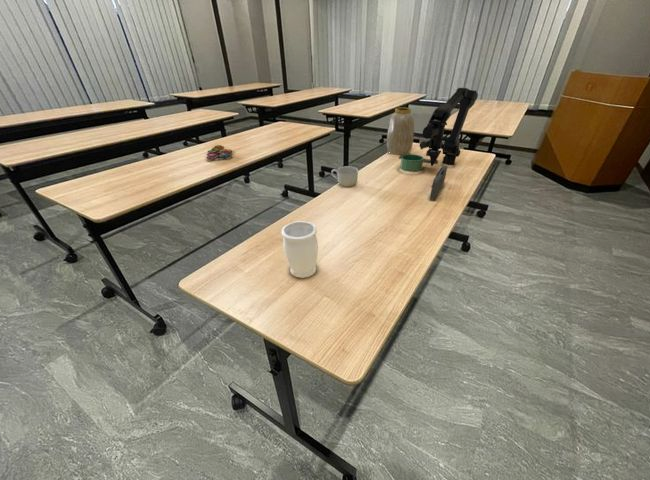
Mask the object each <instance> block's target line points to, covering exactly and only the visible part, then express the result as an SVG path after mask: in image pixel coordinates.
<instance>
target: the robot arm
mask: <svg viewBox="0 0 650 480" xmlns="http://www.w3.org/2000/svg"><path fill="white" fill-rule="evenodd" d="M478 97H479V93H478V92H477V90H473V89H469V88H467V87H457V88H456V90H455V92H454V93H453V95H451V96H450V98H448V100H447V101H446V102H445V103H444V104H440V105H439V106H438V107H436V108H435V109H434V111H433V112H432V114H431V116H430V118H429V120H428V123H427V124H426V126H424V128H423V130H422V136H423V138H424V139H426V140H422V141H420V142H419V148H420V150H424V149H426V148H428V149H427V150H426V152H425V156H426V157H429V159H430V161H431V163H430V166H431V167H433V166H434V165H435V164H434V163H435V161H436V160H438V158H439V156H440V154H441V153H442V155H444V156H442V157H443V158H442V165H445V166H454V165H455V164H456V160H457V159H456V158H457V157H459V156H460V155H461V149H460V144H461V143H460V135H461V134H462V130H463V127H464V124H465V123H466V119H467V117H468V113H469V110H470V109H471V108H472V107H474V105H475V103H476V101H477V99H478ZM458 104H459V109H458V112H457V115H456V117H455V120H454V124H453V126H452V129H451V133H450V134H449V136H448V137H446V138H445V139H444V133H445V128H446V126H447V125H448V123H447V121H448V120H449V118H450V117H451V116H452V115H451V114H452V111H453V110H454V109H455V107H457V106H458ZM443 141H444V142H443Z"/></svg>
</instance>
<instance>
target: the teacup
mask: <svg viewBox="0 0 650 480" xmlns="http://www.w3.org/2000/svg"><path fill="white" fill-rule="evenodd" d="M334 172H335V173H336V175H335V174H334ZM330 174H331V175H330V176H332V177H333V178H334V179H335V180H336V181H337V183H338V184H339V183H340V184H339V185H341V186H342V187H344V188H350V187H353V186H354V185H356V183H358V179H359V178H358V176H359V169H358V168H357V167H355V166H351V165H350V166H349V165H345V166H340V167H338V168H337V169H336V168H333V169H332V170H331V172H330Z"/></svg>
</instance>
